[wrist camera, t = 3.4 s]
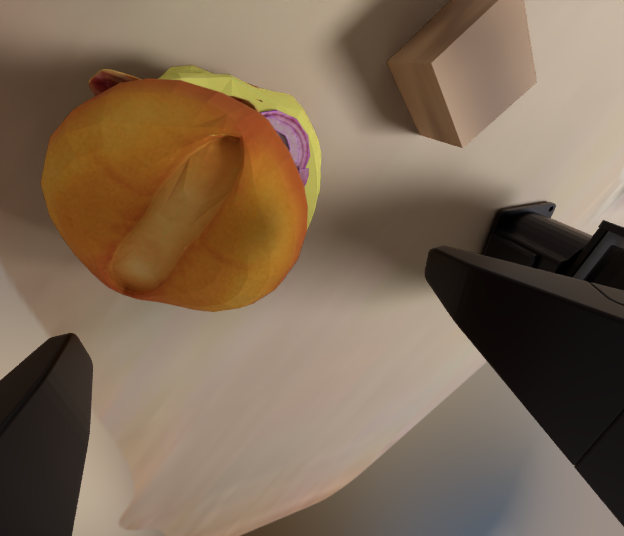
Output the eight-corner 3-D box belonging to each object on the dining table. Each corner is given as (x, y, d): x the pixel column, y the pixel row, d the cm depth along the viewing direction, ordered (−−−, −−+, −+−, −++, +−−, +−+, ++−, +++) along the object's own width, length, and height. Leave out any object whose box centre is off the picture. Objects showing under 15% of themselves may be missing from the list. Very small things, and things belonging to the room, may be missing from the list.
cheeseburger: (303, 252, 22) (324, 366, 14) (137, 240, 20) (43, 362, 12) (329, 86, 17) (388, 104, 8) (109, 49, 15) (-96, 25, 7)
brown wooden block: (456, -6, 17) (520, -21, 14) (480, 78, 20) (536, 82, 17) (385, 62, 18) (431, 63, 15) (418, 134, 21) (462, 148, 18)
